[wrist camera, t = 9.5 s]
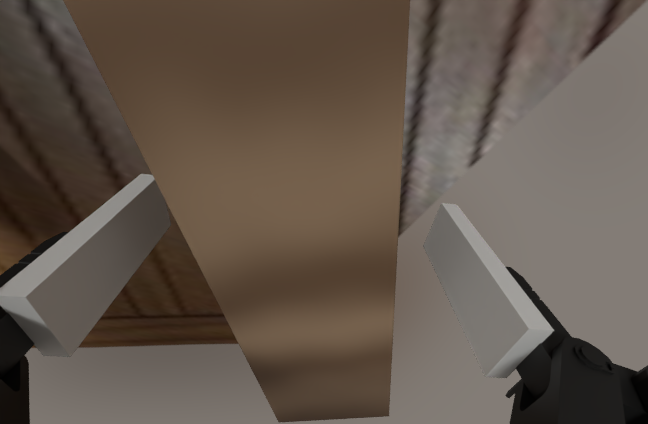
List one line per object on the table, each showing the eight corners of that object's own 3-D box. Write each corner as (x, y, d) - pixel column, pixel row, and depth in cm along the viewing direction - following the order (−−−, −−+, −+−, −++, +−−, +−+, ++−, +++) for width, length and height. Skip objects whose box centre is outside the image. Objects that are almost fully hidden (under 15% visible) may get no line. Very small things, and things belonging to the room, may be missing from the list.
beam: (115, -183, 8) (-193, -502, 3) (366, -230, 7) (445, -677, 3) (287, 340, 22) (278, 422, 17) (374, 334, 22) (388, 416, 17)
